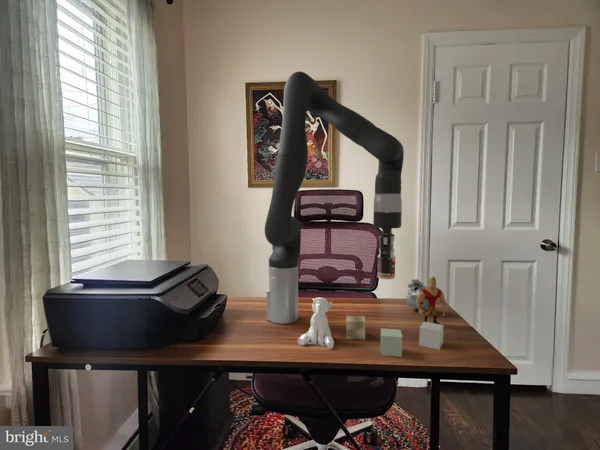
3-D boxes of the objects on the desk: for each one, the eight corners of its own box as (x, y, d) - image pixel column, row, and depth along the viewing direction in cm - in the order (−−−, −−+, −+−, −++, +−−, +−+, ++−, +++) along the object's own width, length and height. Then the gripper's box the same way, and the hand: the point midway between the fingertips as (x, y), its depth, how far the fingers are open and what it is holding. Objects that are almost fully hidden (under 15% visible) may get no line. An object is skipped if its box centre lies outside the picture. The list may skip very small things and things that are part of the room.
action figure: (419, 327, 106) (420, 277, 105) (414, 323, 110) (415, 275, 109) (449, 325, 107) (450, 277, 106) (442, 321, 111) (444, 274, 110)
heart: (442, 315, 115) (440, 278, 117) (414, 316, 114) (413, 279, 115) (426, 311, 125) (425, 277, 127) (401, 312, 124) (400, 278, 125)
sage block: (380, 355, 87) (381, 335, 86) (380, 347, 92) (380, 328, 91) (401, 357, 86) (402, 337, 85) (400, 349, 91) (400, 329, 90)
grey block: (419, 345, 93) (419, 327, 92) (423, 339, 97) (424, 321, 96) (439, 350, 90) (439, 330, 90) (443, 343, 94) (443, 325, 94)
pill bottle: (395, 280, 96) (396, 249, 95) (377, 279, 97) (378, 248, 96) (394, 276, 101) (395, 247, 100) (377, 275, 101) (377, 246, 101)
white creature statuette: (297, 345, 92) (297, 300, 91) (305, 333, 101) (305, 292, 100) (332, 349, 90) (333, 303, 89) (338, 337, 98) (338, 294, 97)
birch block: (346, 339, 97) (346, 321, 97) (346, 332, 102) (346, 315, 102) (365, 339, 96) (365, 321, 96) (363, 333, 101) (364, 316, 101)
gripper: (375, 209, 105) (374, 266, 106) (371, 210, 92) (369, 275, 93) (402, 210, 103) (400, 267, 104) (401, 211, 89) (399, 277, 91)
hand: (386, 271), depth 99 cm, fingers closed on pill bottle, 4 cm apart
